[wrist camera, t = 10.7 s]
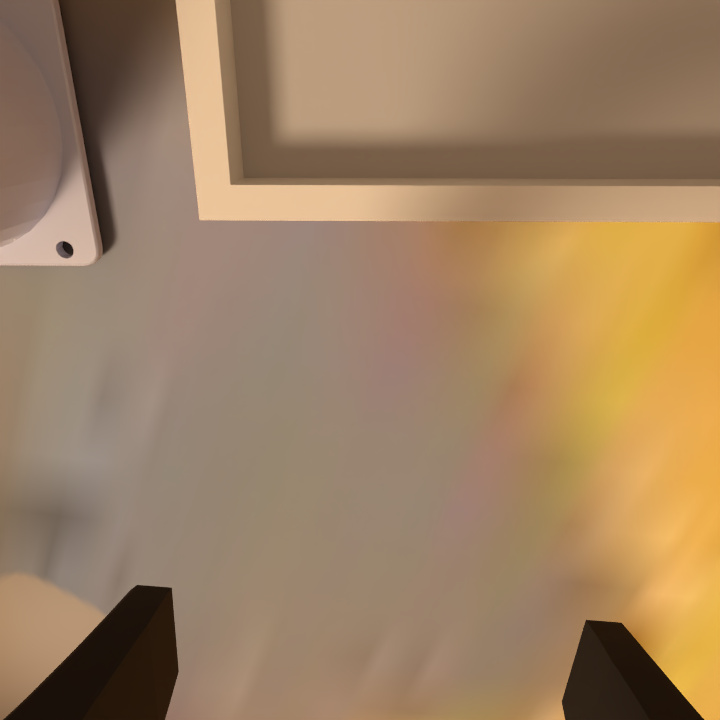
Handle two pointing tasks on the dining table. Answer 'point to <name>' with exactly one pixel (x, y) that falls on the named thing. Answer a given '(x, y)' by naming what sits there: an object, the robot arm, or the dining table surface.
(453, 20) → the open box
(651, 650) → the dining table surface
